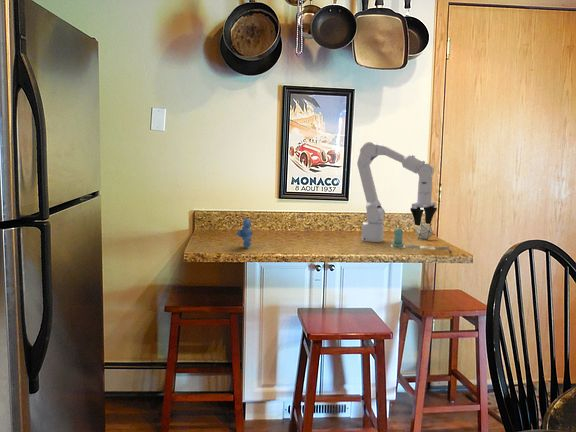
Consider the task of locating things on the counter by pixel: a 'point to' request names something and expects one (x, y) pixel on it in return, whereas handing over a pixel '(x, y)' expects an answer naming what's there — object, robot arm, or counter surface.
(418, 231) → the grey spiky ball
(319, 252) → the counter surface
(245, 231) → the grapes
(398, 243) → the pawn
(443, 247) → the board
